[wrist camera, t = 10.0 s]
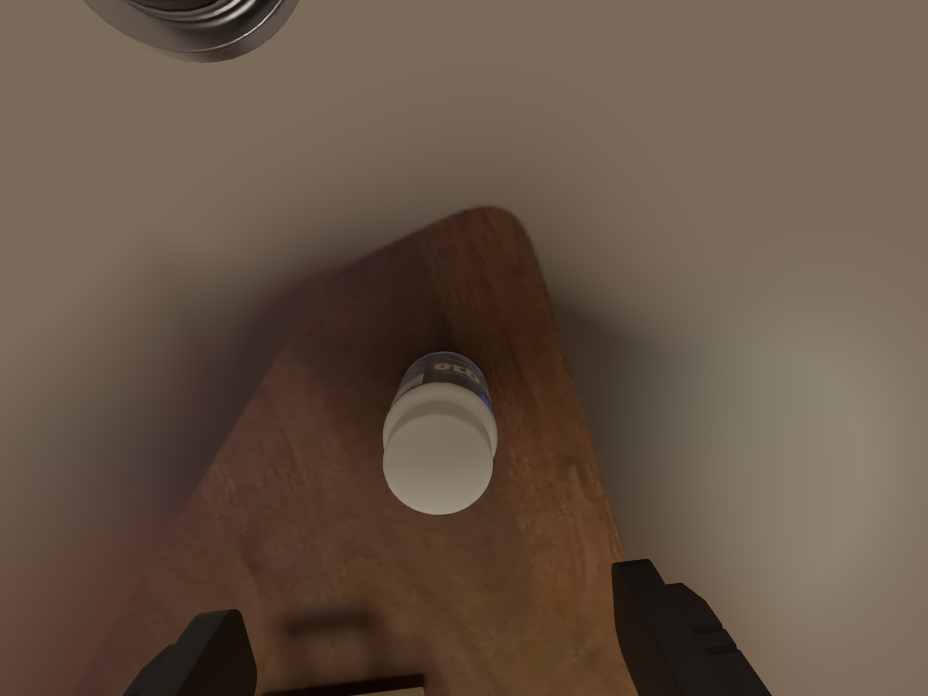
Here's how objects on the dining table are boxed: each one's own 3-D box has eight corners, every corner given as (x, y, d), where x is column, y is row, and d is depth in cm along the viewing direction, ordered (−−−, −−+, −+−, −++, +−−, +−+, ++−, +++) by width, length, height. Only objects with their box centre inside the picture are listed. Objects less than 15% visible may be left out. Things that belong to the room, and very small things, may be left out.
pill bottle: (506, 386, 24) (532, 458, 16) (450, 449, 25) (448, 548, 17) (436, 331, 24) (427, 377, 15) (381, 398, 24) (345, 476, 16)
